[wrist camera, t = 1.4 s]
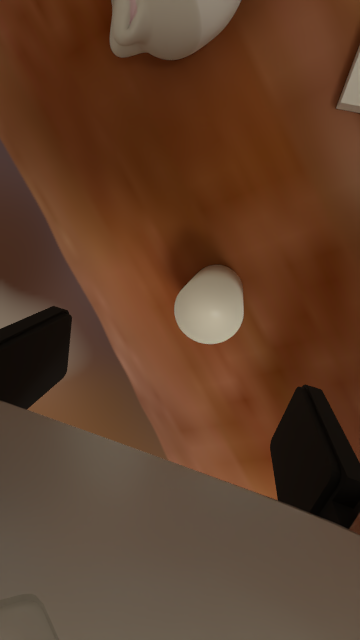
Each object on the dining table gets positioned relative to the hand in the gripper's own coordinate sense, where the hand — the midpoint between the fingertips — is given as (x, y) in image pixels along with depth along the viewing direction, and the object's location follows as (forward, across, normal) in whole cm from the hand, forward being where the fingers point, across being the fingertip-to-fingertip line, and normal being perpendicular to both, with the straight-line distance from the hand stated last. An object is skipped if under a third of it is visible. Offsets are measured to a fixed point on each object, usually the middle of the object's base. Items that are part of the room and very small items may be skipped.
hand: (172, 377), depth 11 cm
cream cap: (+16, -1, 0) cm, 16 cm away
